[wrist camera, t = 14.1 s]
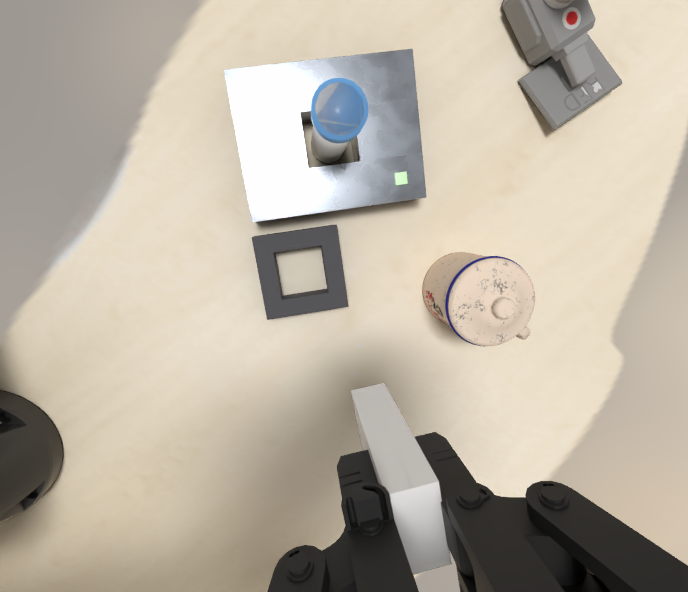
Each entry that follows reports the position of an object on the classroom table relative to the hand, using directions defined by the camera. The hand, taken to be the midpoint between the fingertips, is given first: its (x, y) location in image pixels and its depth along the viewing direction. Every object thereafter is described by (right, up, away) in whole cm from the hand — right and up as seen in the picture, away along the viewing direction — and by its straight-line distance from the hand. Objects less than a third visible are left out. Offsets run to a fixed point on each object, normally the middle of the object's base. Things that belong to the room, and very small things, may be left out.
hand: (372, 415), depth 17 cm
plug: (-3, +21, +25) cm, 33 cm away
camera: (+21, +32, +26) cm, 46 cm away
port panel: (-3, +22, +25) cm, 33 cm away
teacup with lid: (+13, +5, +30) cm, 33 cm away
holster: (-6, +8, +27) cm, 29 cm away
